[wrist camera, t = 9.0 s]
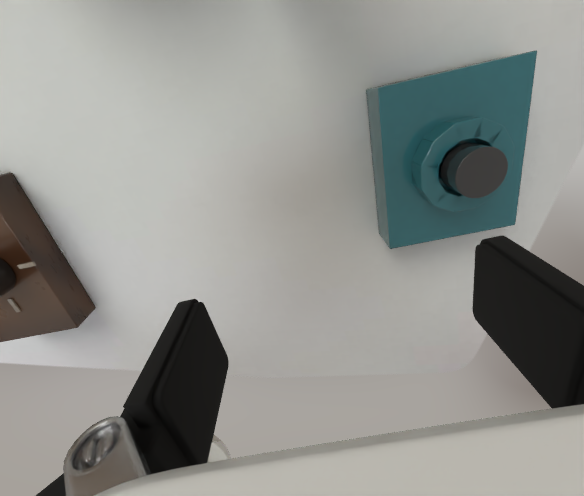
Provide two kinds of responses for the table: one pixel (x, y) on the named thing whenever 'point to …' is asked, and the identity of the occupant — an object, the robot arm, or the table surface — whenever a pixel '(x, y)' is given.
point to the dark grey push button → (474, 169)
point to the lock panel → (35, 272)
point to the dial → (6, 278)
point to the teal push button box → (447, 147)
